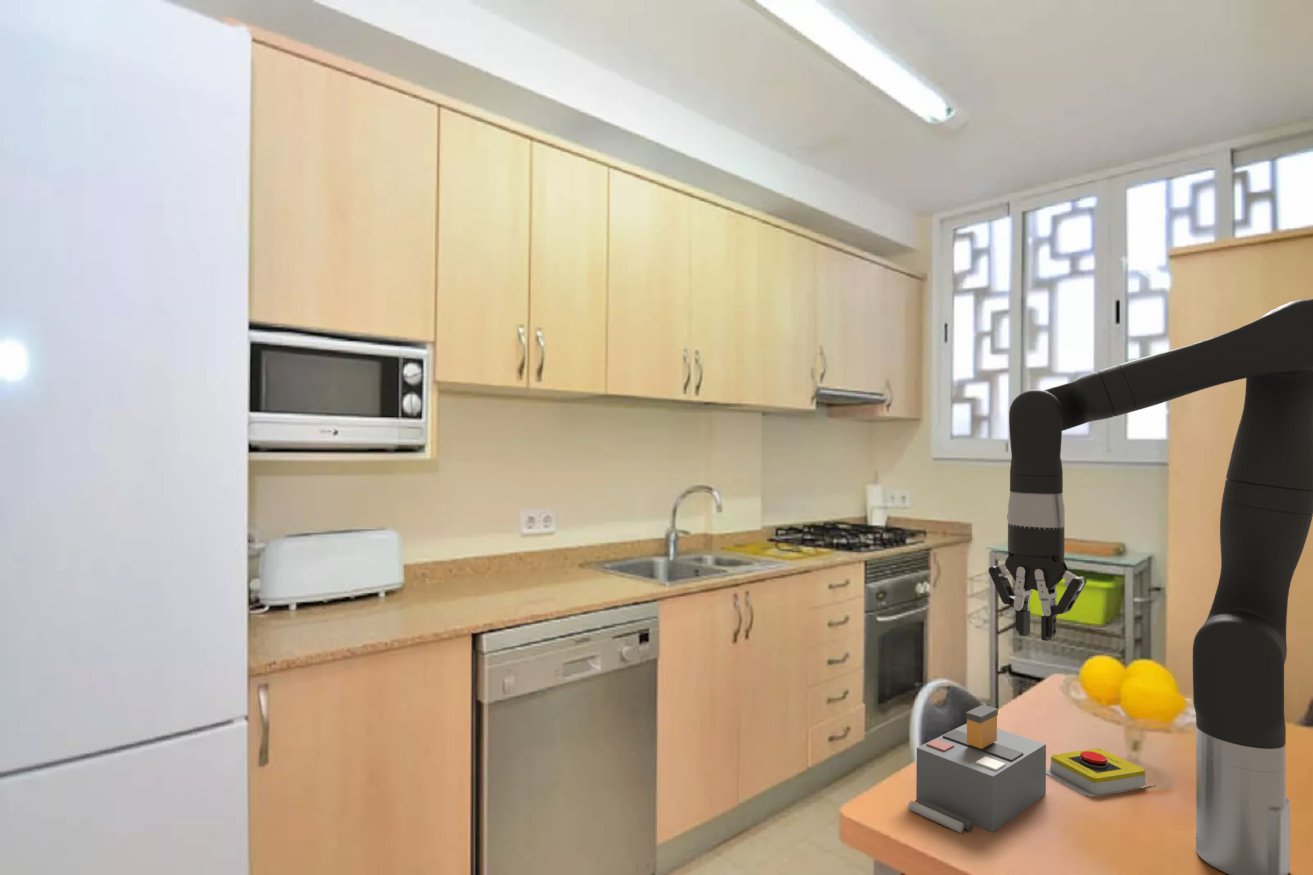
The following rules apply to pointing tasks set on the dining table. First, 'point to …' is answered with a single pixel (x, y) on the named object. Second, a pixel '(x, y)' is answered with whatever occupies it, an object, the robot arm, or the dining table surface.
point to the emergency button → (1095, 772)
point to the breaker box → (981, 776)
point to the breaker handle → (982, 726)
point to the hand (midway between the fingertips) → (1035, 636)
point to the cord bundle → (941, 815)
